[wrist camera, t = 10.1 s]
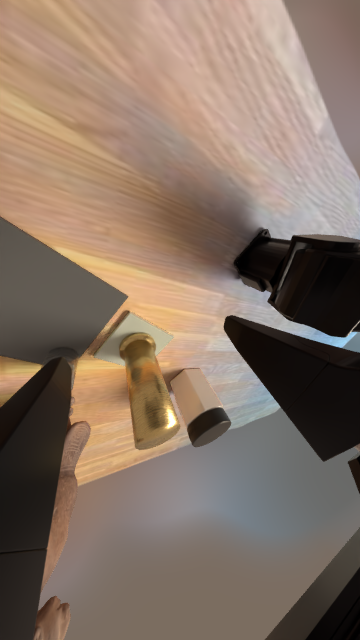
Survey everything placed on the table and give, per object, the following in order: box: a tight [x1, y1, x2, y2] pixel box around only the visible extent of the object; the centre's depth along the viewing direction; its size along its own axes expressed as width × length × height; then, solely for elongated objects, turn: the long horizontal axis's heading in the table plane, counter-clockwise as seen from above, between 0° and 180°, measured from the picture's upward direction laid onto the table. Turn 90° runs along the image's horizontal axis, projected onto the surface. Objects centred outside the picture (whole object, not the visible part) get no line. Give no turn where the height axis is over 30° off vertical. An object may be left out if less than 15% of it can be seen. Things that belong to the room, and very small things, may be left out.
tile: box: [94, 311, 174, 366], centre depth 24 cm, size 9×9×1 cm
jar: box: [170, 368, 231, 447], centre depth 32 cm, size 9×8×12 cm
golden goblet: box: [119, 332, 180, 450], centre depth 19 cm, size 6×6×13 cm
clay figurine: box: [33, 397, 91, 640], centre depth 16 cm, size 13×10×25 cm
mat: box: [0, 217, 128, 364], centre depth 15 cm, size 14×18×1 cm
